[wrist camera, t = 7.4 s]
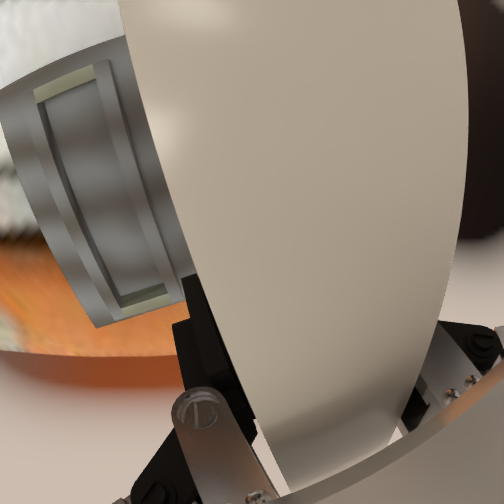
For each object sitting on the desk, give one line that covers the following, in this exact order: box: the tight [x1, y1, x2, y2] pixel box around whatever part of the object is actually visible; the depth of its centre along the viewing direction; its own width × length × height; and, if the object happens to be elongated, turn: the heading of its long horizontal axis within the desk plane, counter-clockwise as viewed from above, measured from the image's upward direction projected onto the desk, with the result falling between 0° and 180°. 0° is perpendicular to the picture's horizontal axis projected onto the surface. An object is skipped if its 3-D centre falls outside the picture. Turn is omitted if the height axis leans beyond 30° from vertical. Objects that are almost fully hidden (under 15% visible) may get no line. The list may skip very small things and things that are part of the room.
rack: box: [0, 35, 199, 328], centre depth 24 cm, size 26×14×3 cm, turn 11°
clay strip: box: [118, 0, 468, 493], centre depth 9 cm, size 18×3×8 cm, turn 12°
